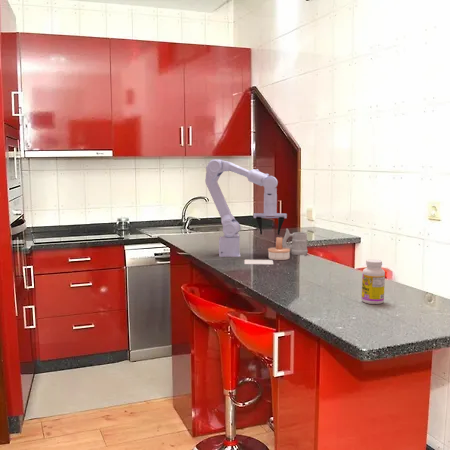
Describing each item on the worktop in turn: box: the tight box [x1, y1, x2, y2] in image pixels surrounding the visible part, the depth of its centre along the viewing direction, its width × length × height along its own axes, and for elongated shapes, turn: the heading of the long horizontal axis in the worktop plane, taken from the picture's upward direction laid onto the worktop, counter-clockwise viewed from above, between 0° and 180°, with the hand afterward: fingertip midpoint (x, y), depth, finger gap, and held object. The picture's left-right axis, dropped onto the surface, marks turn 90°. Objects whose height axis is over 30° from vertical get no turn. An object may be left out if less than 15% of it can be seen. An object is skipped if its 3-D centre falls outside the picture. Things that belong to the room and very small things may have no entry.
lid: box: [267, 236, 291, 253], centre depth 241 cm, size 10×10×6 cm
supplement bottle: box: [361, 259, 386, 305], centre depth 169 cm, size 7×7×13 cm
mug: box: [282, 228, 309, 256], centre depth 253 cm, size 8×12×12 cm, turn 96°
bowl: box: [268, 251, 291, 261], centre depth 242 cm, size 9×9×4 cm
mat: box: [244, 259, 274, 265], centre depth 233 cm, size 12×10×1 cm
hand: (269, 234), depth 244 cm, fingers open, 7 cm apart
